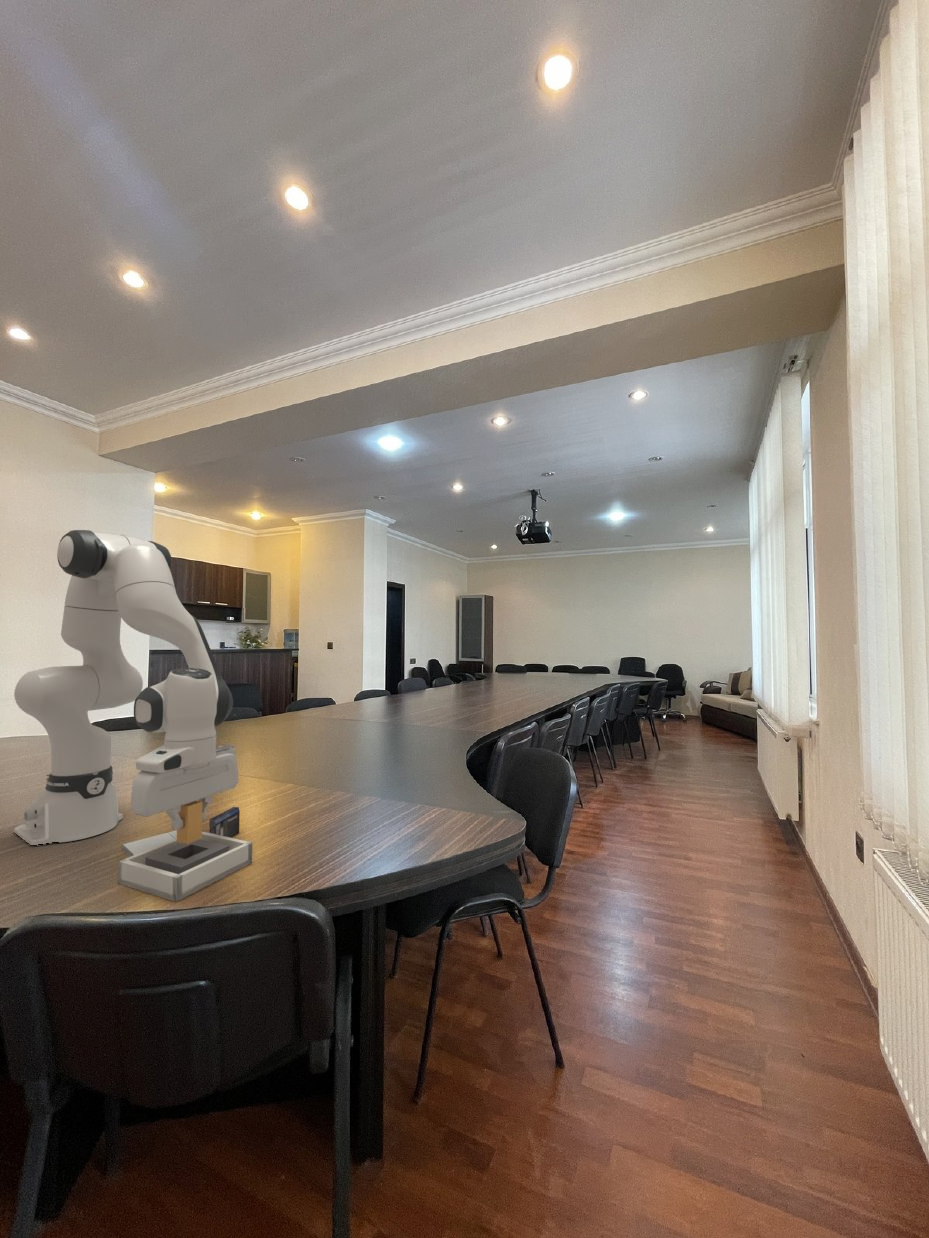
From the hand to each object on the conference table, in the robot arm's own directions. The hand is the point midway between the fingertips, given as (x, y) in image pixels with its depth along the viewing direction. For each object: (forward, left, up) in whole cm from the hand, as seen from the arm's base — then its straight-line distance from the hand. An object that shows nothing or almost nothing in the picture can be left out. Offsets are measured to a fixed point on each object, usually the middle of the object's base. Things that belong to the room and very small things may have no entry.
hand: (189, 824), depth 94 cm
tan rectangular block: (0, 0, -3) cm, 3 cm away
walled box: (0, 0, -9) cm, 9 cm away
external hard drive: (-18, +7, -10) cm, 21 cm away
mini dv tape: (-7, +14, -9) cm, 18 cm away
